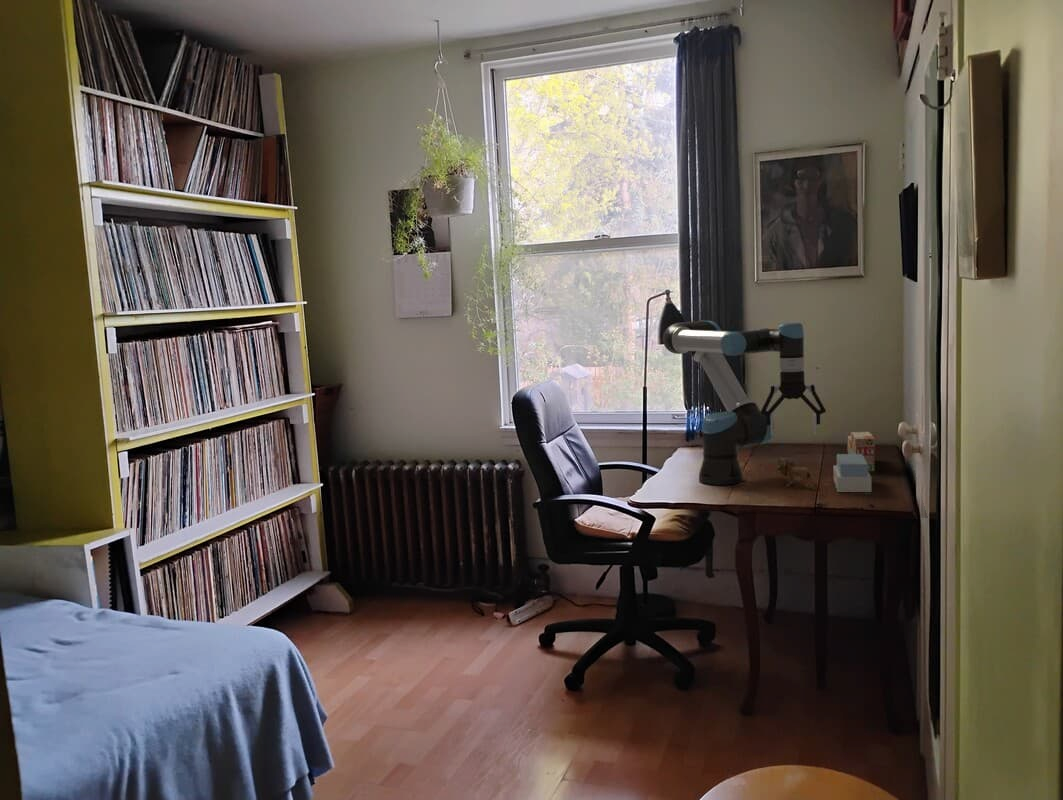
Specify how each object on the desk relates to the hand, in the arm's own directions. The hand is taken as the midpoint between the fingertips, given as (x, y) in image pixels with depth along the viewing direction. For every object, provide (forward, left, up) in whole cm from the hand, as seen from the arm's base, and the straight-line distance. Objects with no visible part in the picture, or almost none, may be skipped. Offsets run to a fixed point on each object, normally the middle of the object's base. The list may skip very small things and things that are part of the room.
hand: (793, 434), depth 278 cm
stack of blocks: (+24, +31, -18) cm, 43 cm away
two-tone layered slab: (+18, 0, -17) cm, 25 cm away
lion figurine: (0, 0, -18) cm, 18 cm away
